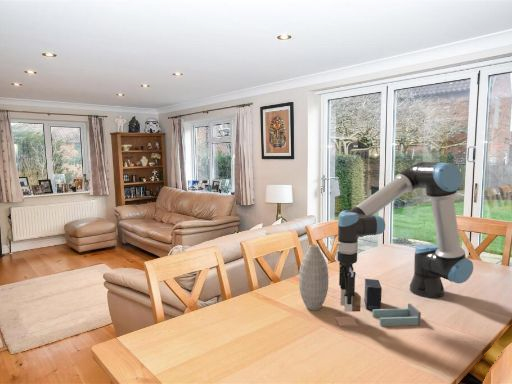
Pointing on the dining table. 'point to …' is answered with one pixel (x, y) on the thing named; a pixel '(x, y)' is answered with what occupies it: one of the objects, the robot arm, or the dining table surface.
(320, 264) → the vase
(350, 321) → the tile
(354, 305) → the block
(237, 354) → the dining table surface
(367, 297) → the small box
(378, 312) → the channel
